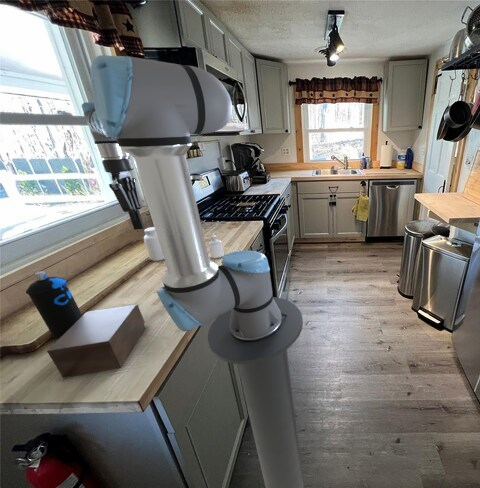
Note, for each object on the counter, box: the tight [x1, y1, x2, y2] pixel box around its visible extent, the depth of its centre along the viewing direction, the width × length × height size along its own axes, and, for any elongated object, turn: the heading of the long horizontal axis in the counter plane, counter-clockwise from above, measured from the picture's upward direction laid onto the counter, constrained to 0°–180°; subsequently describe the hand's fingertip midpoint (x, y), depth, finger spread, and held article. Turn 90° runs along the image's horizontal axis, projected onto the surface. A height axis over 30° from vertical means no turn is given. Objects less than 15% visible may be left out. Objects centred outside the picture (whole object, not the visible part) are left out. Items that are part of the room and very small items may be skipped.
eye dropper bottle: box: [208, 232, 225, 259], centre depth 122 cm, size 4×6×12 cm
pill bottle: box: [143, 226, 164, 262], centre depth 123 cm, size 8×8×15 cm
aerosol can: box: [25, 270, 83, 339], centre depth 76 cm, size 8×8×20 cm
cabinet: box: [46, 304, 146, 379], centre depth 69 cm, size 15×13×9 cm
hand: (139, 228), depth 91 cm, fingers closed
